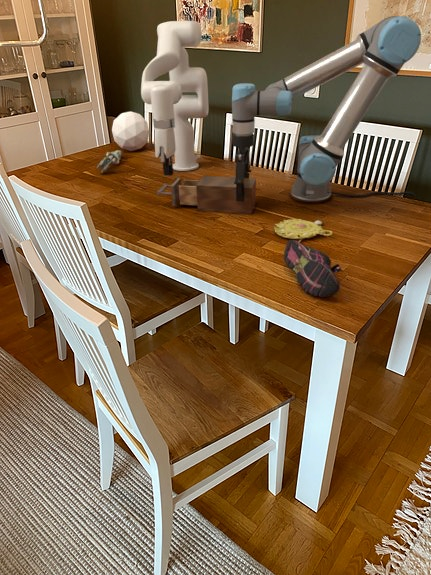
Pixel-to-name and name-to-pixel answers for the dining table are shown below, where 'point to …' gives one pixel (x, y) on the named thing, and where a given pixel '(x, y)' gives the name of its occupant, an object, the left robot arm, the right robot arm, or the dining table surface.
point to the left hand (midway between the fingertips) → (168, 174)
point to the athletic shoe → (312, 269)
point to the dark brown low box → (225, 195)
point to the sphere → (130, 131)
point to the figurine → (110, 160)
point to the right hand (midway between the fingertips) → (242, 195)
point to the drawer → (182, 192)
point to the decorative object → (300, 229)
